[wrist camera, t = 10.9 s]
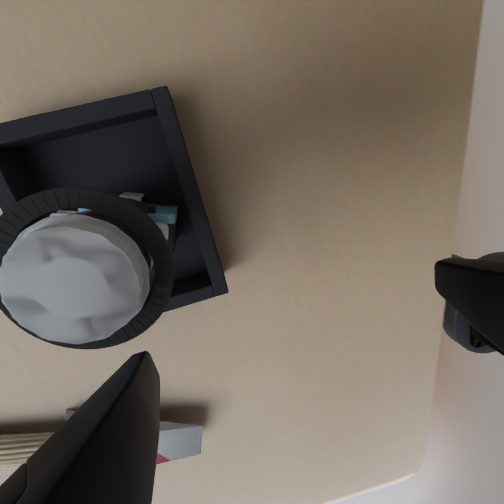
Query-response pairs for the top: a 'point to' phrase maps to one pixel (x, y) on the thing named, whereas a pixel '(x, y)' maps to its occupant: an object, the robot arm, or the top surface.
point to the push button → (86, 265)
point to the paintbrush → (24, 445)
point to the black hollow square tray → (119, 172)
